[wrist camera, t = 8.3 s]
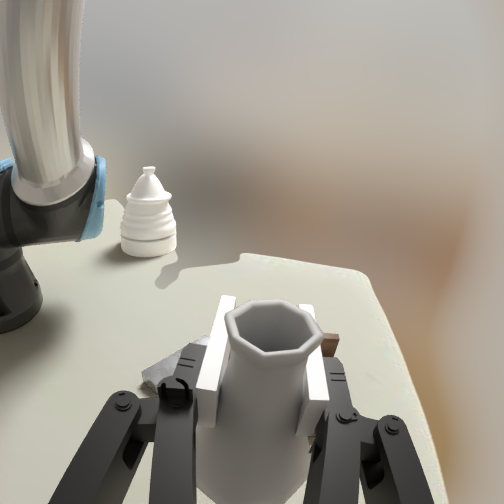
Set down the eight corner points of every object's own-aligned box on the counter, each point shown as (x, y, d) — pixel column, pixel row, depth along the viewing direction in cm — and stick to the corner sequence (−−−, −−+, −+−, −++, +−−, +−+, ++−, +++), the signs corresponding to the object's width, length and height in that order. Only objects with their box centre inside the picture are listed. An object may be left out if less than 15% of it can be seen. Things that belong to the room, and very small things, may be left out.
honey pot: (181, 254, 62) (183, 169, 55) (122, 260, 56) (118, 172, 49) (170, 234, 72) (172, 162, 65) (120, 238, 67) (118, 164, 60)
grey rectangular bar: (144, 383, 29) (141, 371, 28) (204, 346, 37) (204, 334, 36) (157, 396, 28) (155, 384, 27) (219, 355, 35) (219, 344, 35)
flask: (163, 431, 14) (138, 289, 10) (266, 396, 18) (293, 262, 14) (220, 533, 9) (225, 459, 5) (335, 473, 12) (417, 348, 8)
